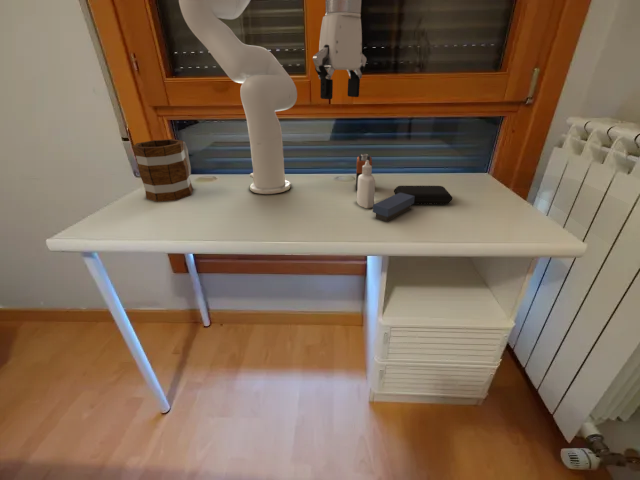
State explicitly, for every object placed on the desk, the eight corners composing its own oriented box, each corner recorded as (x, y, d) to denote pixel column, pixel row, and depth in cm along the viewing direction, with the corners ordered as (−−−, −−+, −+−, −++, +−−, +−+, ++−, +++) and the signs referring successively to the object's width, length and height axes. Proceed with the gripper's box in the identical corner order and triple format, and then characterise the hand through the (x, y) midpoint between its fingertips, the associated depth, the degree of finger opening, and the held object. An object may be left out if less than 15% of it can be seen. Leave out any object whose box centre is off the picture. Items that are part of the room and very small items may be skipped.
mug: (178, 202, 90) (166, 148, 83) (135, 200, 92) (120, 148, 85) (210, 182, 107) (202, 135, 100) (174, 180, 109) (163, 135, 102)
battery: (370, 185, 101) (371, 153, 97) (370, 192, 95) (372, 158, 91) (356, 184, 102) (357, 153, 97) (355, 191, 96) (356, 158, 91)
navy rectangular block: (387, 223, 75) (388, 209, 74) (372, 218, 78) (372, 204, 76) (413, 209, 83) (415, 196, 81) (398, 205, 86) (399, 192, 84)
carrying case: (442, 192, 94) (391, 192, 95) (444, 182, 92) (392, 182, 93) (453, 206, 84) (397, 205, 85) (455, 195, 83) (398, 195, 84)
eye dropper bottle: (372, 201, 88) (375, 158, 83) (373, 209, 83) (376, 163, 78) (356, 201, 89) (358, 158, 83) (357, 208, 84) (359, 163, 78)
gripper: (354, 15, 75) (350, 95, 84) (301, 6, 64) (302, 98, 73) (381, 12, 71) (374, 96, 79) (328, 2, 60) (327, 101, 68)
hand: (340, 97), depth 76 cm, fingers open, 9 cm apart
